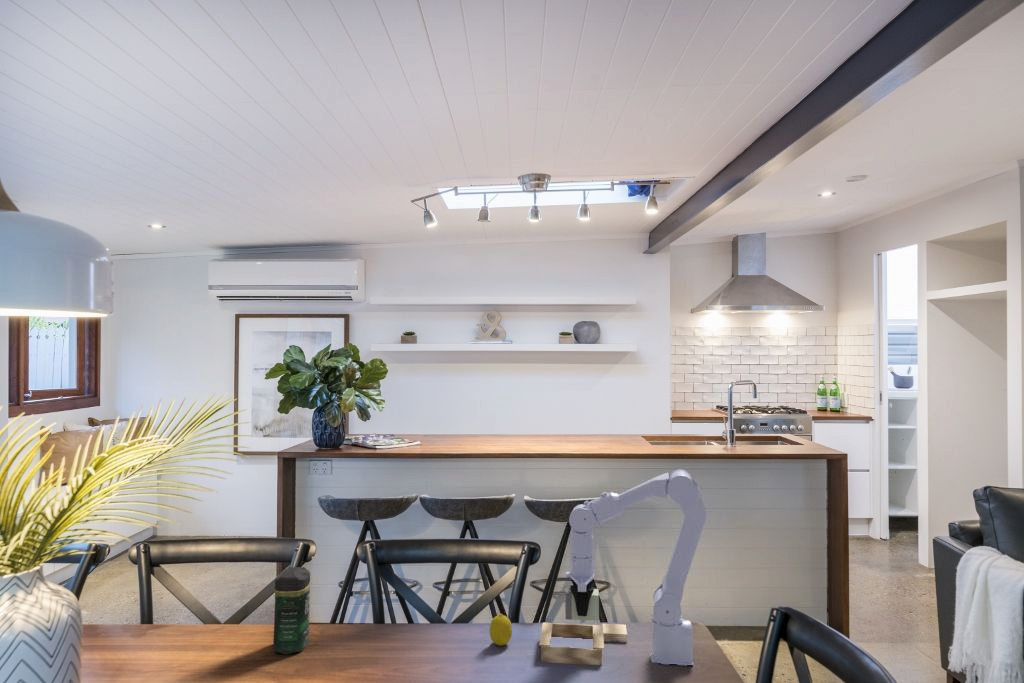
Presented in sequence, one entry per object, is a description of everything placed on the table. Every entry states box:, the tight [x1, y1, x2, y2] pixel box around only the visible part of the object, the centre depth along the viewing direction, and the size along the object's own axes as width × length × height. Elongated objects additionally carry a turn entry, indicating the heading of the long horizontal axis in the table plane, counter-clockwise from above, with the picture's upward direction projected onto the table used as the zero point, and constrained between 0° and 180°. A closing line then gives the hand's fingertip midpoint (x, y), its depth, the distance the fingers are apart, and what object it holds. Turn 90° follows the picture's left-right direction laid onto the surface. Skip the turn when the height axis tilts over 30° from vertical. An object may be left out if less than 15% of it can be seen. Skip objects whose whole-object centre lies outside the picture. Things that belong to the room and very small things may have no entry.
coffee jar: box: [272, 566, 311, 655], centre depth 162 cm, size 10×8×19 cm
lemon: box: [489, 613, 513, 647], centre depth 162 cm, size 6×6×8 cm
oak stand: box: [601, 623, 628, 643], centre depth 166 cm, size 6×6×2 cm
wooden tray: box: [538, 622, 605, 666], centre depth 158 cm, size 15×14×4 cm
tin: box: [564, 587, 600, 622], centre depth 160 cm, size 8×4×6 cm, turn 84°
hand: (582, 611), depth 160 cm, fingers closed on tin, 4 cm apart
